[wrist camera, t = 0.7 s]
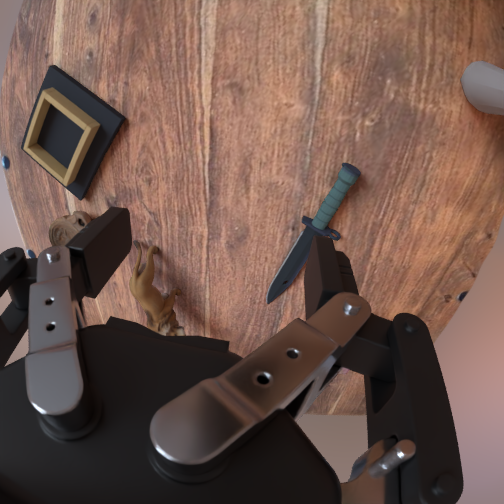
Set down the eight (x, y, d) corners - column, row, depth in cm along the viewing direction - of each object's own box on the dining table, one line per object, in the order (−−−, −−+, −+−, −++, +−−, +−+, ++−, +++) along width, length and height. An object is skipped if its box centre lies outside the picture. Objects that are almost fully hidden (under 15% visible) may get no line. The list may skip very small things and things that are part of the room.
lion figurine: (201, 307, 47) (185, 353, 40) (174, 313, 49) (156, 356, 42) (149, 232, 40) (119, 274, 33) (123, 243, 42) (92, 283, 34)
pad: (54, 64, 27) (39, 67, 24) (126, 117, 31) (112, 123, 28) (24, 145, 34) (11, 153, 31) (84, 197, 38) (72, 207, 36)
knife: (335, 162, 29) (377, 185, 29) (336, 156, 30) (375, 178, 31) (254, 303, 43) (285, 318, 44) (257, 293, 45) (287, 307, 45)
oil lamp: (81, 192, 38) (60, 209, 33) (113, 231, 41) (95, 251, 37) (46, 232, 43) (29, 248, 39) (73, 263, 46) (58, 282, 42)
